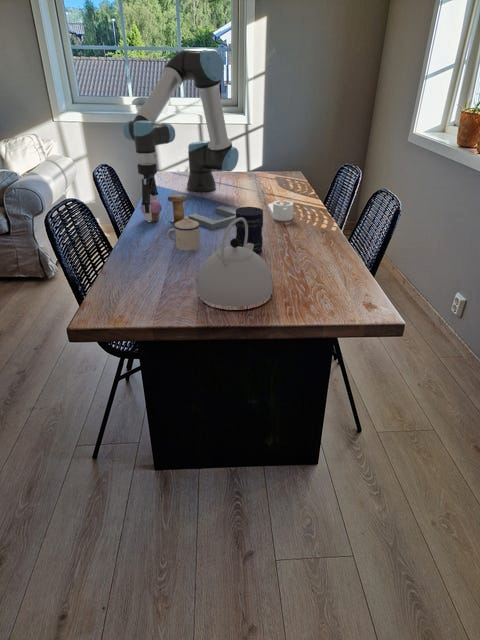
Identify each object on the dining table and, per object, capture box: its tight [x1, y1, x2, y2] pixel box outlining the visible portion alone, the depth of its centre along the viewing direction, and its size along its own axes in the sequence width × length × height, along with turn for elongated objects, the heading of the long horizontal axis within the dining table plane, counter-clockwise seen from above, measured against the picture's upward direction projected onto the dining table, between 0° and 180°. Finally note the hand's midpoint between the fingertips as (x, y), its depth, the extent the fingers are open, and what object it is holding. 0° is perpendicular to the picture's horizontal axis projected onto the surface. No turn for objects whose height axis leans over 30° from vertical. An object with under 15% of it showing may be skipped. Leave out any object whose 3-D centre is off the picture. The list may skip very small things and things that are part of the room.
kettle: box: [197, 217, 273, 307], centre depth 130 cm, size 25×23×23 cm
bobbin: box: [167, 193, 188, 224], centre depth 187 cm, size 8×8×11 cm
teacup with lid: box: [166, 215, 201, 251], centre depth 163 cm, size 12×9×12 cm
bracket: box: [267, 199, 294, 222], centre depth 200 cm, size 20×9×7 cm, turn 7°
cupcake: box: [140, 199, 163, 223], centre depth 188 cm, size 9×9×10 cm
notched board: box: [187, 205, 236, 231], centre depth 192 cm, size 16×20×2 cm
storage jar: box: [234, 206, 264, 255], centre depth 159 cm, size 10×10×15 cm
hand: (151, 215), depth 188 cm, fingers open, 13 cm apart
